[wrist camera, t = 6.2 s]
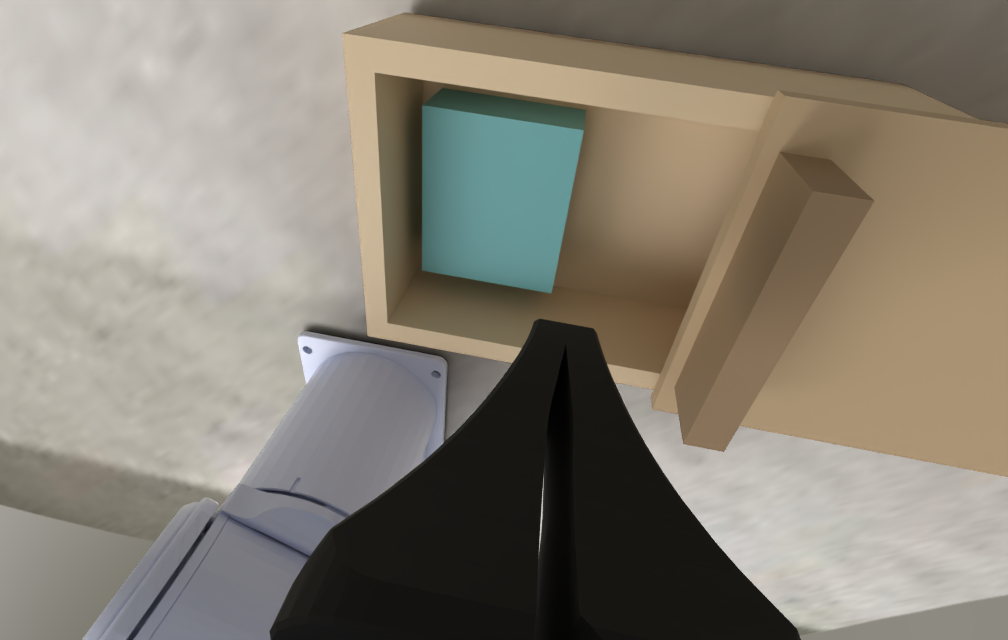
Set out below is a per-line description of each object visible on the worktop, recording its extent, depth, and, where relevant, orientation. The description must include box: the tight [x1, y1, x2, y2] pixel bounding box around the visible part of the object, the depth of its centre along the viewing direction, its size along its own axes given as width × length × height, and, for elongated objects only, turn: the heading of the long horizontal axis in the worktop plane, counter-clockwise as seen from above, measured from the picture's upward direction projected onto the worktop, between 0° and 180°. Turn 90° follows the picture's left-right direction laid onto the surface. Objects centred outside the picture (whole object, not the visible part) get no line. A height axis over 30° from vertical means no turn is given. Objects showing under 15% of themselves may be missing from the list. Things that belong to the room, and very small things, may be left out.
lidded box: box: [342, 13, 977, 390], centre depth 17 cm, size 16×10×5 cm, turn 84°
